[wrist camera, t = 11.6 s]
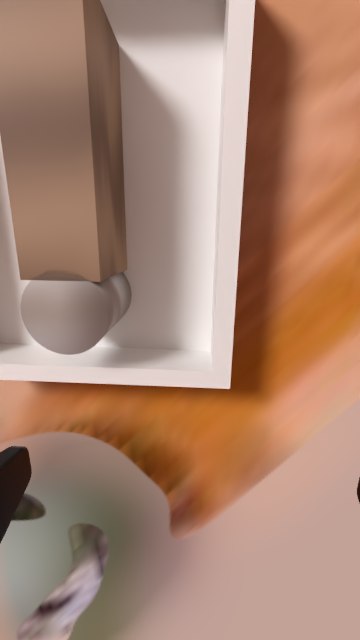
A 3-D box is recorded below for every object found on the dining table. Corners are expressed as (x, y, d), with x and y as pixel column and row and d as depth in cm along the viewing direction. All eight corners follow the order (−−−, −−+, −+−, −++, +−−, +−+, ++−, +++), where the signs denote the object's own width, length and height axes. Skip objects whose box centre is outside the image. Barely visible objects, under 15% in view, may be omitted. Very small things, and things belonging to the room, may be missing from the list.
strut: (132, 325, 18) (109, 356, 14) (70, 323, 19) (26, 353, 14) (123, 45, 14) (85, -50, 10) (44, 47, 15) (-31, -45, 10)
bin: (245, -19, 14) (262, -113, 10) (223, 359, 20) (230, 388, 16) (-66, -7, 15) (-156, -90, 11) (-4, 351, 21) (-50, 377, 17)
